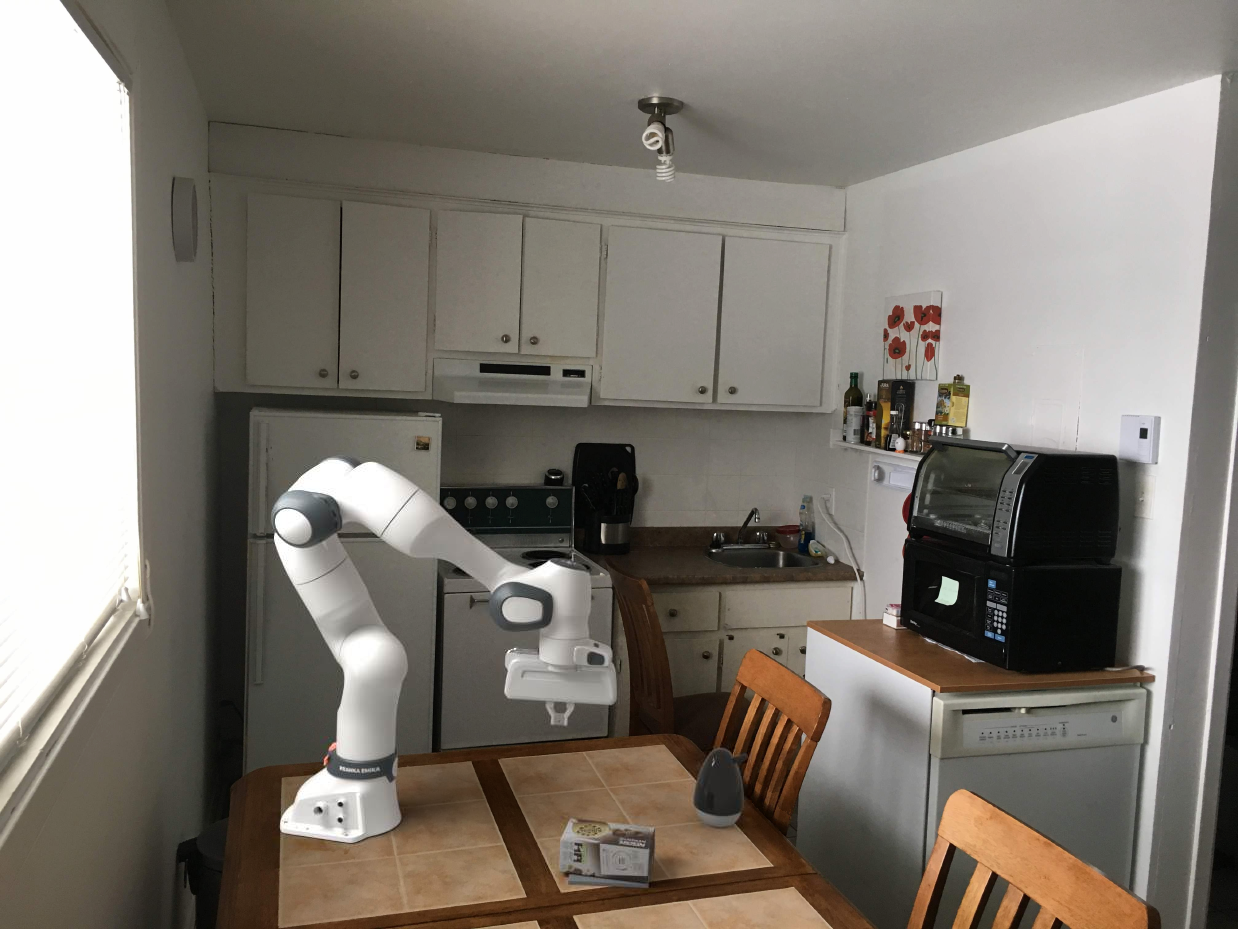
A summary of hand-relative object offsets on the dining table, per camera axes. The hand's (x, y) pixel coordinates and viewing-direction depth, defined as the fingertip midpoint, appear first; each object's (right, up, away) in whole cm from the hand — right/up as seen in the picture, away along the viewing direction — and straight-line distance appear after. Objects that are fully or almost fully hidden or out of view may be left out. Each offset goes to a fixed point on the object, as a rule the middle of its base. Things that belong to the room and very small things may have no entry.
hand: (559, 724), depth 173 cm
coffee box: (+1, -22, +1) cm, 22 cm away
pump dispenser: (+31, -26, +21) cm, 45 cm away
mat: (+9, -26, +1) cm, 28 cm away
